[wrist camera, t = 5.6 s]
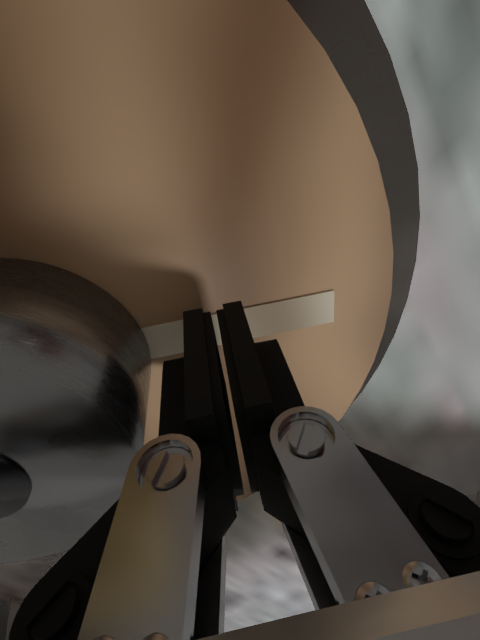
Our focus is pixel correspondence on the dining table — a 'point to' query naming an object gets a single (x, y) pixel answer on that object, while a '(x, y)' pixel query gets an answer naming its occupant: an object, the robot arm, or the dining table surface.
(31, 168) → the platter
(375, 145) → the turntable base
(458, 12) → the dining table surface
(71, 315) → the cover
